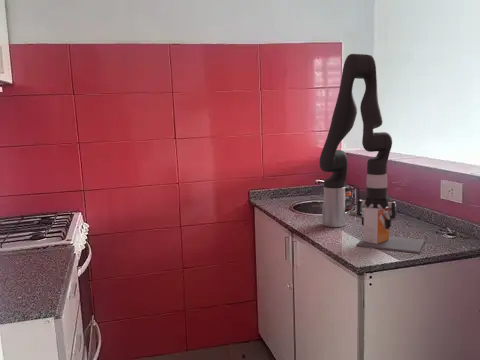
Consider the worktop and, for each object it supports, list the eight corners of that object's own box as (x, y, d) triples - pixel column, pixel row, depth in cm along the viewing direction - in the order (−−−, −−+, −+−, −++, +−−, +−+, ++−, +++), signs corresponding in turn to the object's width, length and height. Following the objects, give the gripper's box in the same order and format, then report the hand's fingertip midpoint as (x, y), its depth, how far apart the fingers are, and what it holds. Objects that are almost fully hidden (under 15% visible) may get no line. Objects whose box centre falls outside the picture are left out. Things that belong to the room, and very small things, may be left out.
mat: (356, 246, 168) (356, 244, 168) (366, 235, 182) (366, 234, 182) (419, 253, 157) (419, 251, 157) (425, 241, 171) (425, 239, 171)
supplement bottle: (344, 206, 237) (344, 185, 236) (353, 208, 233) (353, 187, 231) (337, 208, 234) (337, 187, 232) (346, 210, 229) (346, 188, 227)
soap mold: (380, 223, 202) (380, 215, 202) (349, 215, 220) (349, 208, 219) (396, 220, 207) (396, 212, 207) (364, 212, 225) (364, 206, 224)
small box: (377, 244, 167) (377, 210, 165) (363, 241, 172) (363, 207, 170) (389, 240, 172) (390, 206, 170) (375, 237, 177) (375, 204, 175)
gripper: (355, 186, 169) (355, 228, 172) (394, 188, 162) (393, 231, 165) (360, 183, 176) (360, 223, 178) (398, 185, 169) (397, 227, 171)
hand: (376, 227), depth 171 cm, fingers open, 8 cm apart
